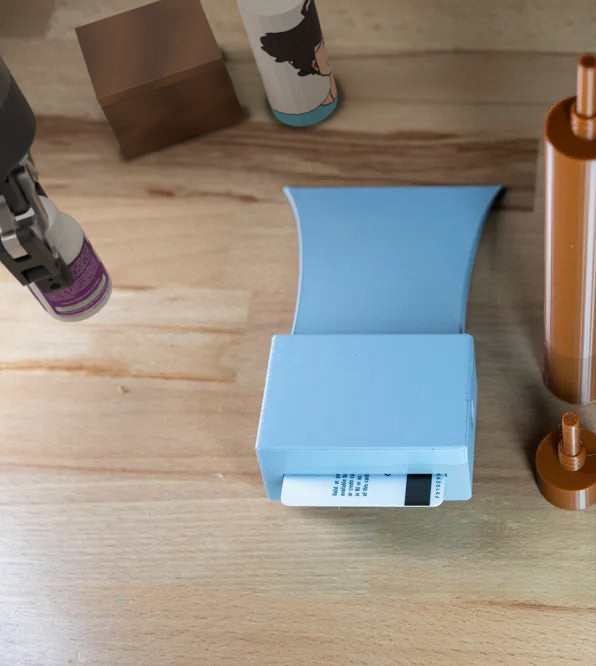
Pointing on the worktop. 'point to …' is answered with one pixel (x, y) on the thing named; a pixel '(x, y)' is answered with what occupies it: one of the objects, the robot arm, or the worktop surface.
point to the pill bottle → (73, 270)
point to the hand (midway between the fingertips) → (51, 252)
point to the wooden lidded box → (158, 75)
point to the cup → (291, 58)
